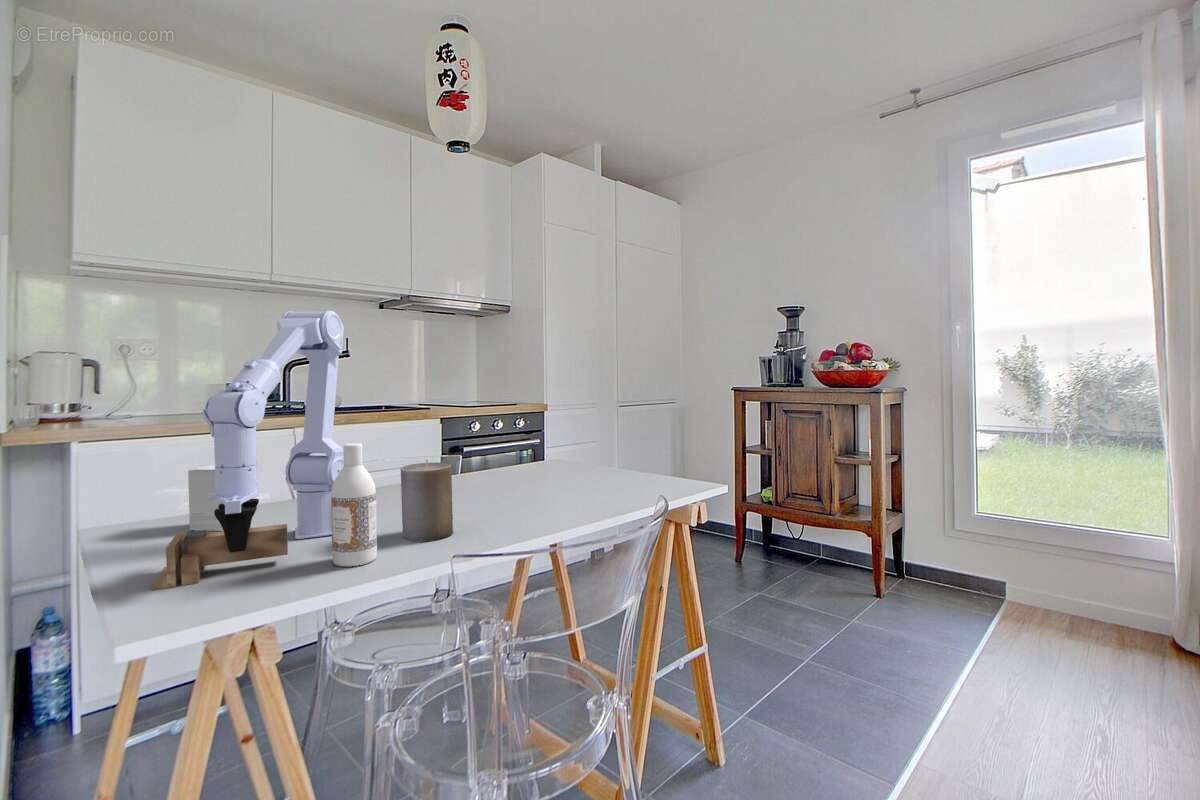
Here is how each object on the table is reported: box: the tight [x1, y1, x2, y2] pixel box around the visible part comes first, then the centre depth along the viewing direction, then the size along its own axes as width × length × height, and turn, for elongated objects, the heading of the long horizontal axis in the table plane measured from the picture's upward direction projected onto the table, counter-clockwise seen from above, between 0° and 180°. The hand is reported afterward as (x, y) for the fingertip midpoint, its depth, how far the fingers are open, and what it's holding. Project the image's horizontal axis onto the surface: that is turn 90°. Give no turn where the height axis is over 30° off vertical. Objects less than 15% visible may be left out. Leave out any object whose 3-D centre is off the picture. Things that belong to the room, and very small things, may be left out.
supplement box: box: [187, 464, 223, 532], centre depth 116 cm, size 7×7×13 cm
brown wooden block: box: [183, 523, 289, 567], centre depth 91 cm, size 14×3×5 cm, turn 119°
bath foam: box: [331, 442, 378, 568], centre depth 94 cm, size 7×7×20 cm
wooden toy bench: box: [150, 531, 207, 591], centre depth 87 cm, size 6×9×6 cm, turn 29°
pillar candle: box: [399, 459, 454, 542], centre depth 110 cm, size 10×10×15 cm
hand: (238, 547), depth 91 cm, fingers closed on brown wooden block, 3 cm apart
